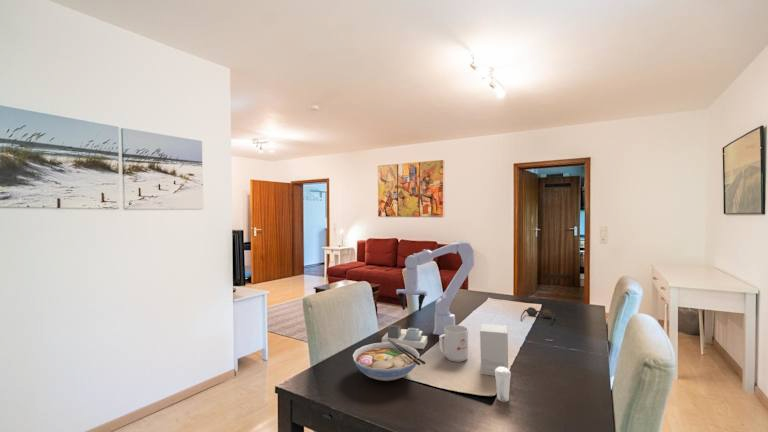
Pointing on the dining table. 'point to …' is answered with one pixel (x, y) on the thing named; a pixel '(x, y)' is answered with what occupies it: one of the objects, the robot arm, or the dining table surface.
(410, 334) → the plug block
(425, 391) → the dining table surface
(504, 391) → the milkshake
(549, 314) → the eyeglasses
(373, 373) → the ramen bowl
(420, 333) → the pad
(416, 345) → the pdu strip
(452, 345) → the mug
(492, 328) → the supplement box
